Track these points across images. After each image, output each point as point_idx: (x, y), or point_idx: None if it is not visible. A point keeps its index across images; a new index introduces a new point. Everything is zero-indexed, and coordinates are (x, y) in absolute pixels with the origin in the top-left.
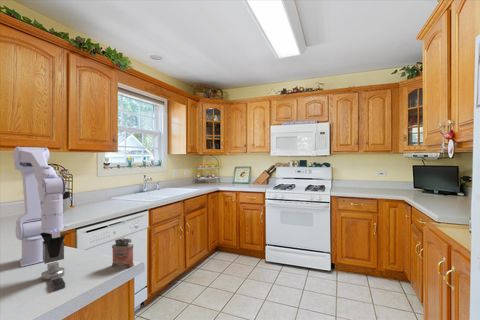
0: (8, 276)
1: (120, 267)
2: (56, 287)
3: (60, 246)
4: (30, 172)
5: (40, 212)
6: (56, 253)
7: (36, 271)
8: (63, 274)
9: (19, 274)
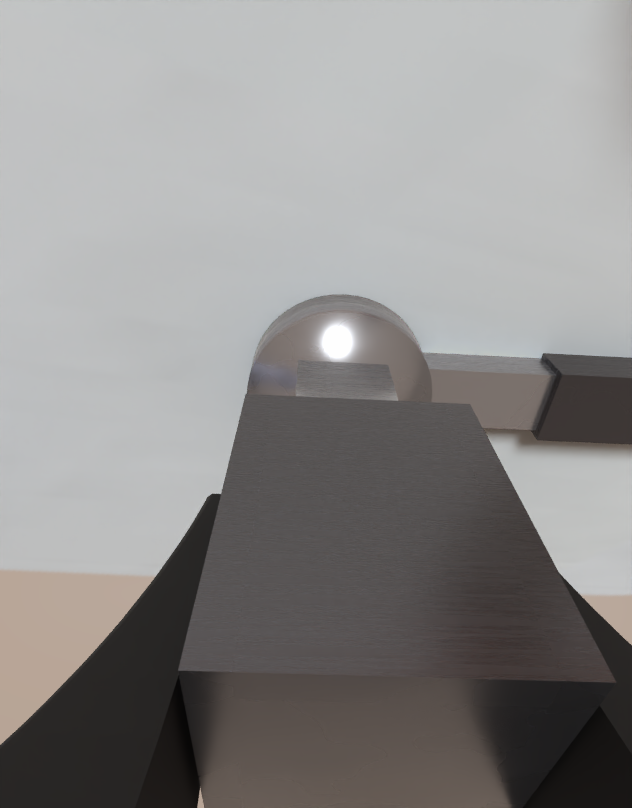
0: (81, 560)
1: None
2: None
3: (621, 638)
4: None
5: None
6: None
7: (102, 443)
8: (394, 313)
9: (87, 520)
